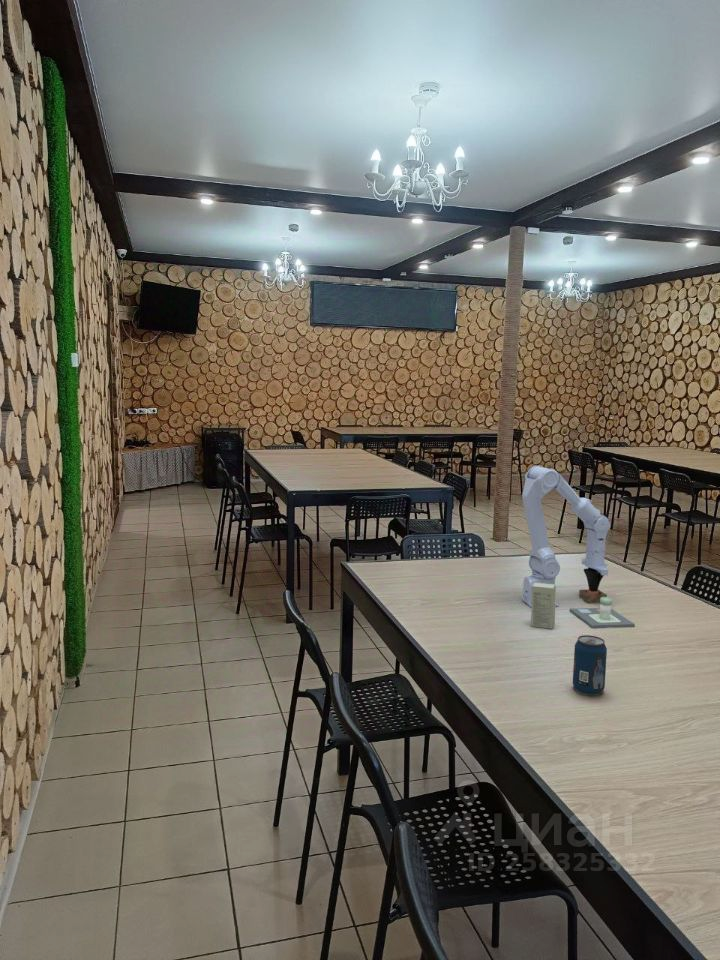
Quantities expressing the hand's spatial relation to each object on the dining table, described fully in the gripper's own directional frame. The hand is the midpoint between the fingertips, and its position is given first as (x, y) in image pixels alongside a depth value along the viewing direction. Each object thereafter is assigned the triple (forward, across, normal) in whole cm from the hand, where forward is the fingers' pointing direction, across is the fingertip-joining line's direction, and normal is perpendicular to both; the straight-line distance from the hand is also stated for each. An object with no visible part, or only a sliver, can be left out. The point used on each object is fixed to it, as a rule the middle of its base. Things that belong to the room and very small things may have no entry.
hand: (593, 591), depth 220 cm
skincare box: (+3, -22, +26) cm, 34 cm away
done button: (+4, 0, 0) cm, 4 cm away
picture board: (+3, -18, +6) cm, 19 cm away
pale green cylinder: (+2, -20, +6) cm, 21 cm away
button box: (+3, 0, 0) cm, 3 cm away
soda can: (+3, -64, +32) cm, 72 cm away
